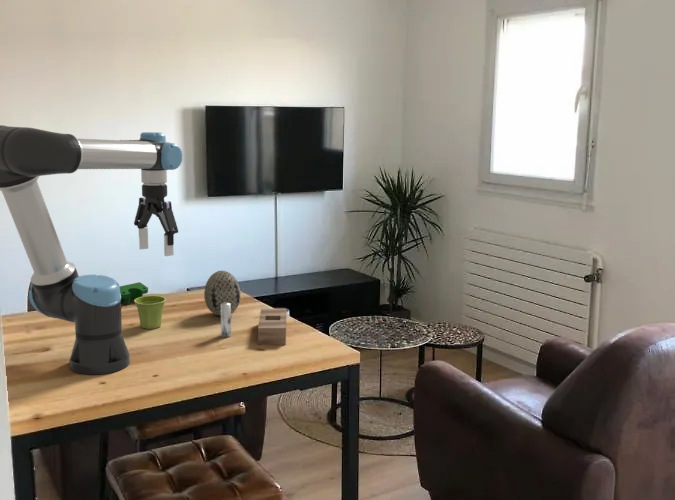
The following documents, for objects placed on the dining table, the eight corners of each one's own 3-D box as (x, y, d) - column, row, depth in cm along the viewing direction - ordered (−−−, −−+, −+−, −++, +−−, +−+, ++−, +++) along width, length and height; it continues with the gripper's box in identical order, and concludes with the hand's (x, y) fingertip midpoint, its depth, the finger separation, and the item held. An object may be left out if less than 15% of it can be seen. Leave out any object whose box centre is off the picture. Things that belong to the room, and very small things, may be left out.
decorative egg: (230, 322, 231) (230, 276, 228) (198, 318, 235) (197, 273, 232) (246, 312, 242) (246, 268, 239) (214, 308, 246) (214, 265, 243)
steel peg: (230, 337, 217) (230, 305, 215) (220, 337, 217) (220, 305, 215) (231, 334, 220) (231, 302, 218) (221, 334, 220) (221, 302, 218)
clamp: (124, 317, 249) (118, 298, 243) (114, 310, 252) (107, 290, 246) (152, 299, 255) (147, 279, 250) (142, 292, 259) (136, 272, 253)
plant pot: (168, 329, 223) (167, 302, 221) (137, 332, 220) (136, 304, 218) (164, 320, 232) (163, 294, 230) (133, 323, 228) (132, 296, 226)
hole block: (285, 344, 212) (285, 328, 211) (258, 344, 211) (258, 328, 210) (286, 323, 231) (286, 308, 230) (261, 323, 231) (261, 308, 230)
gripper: (189, 186, 215) (190, 256, 219) (142, 179, 231) (144, 244, 235) (167, 188, 209) (169, 260, 214) (121, 180, 226) (123, 247, 230)
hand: (156, 252), depth 224 cm, fingers open, 13 cm apart
